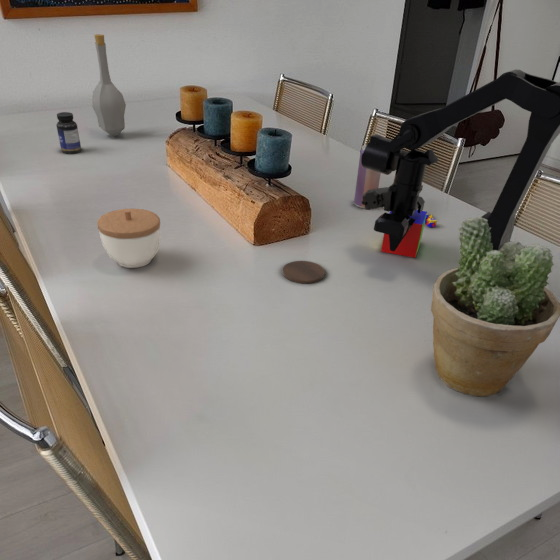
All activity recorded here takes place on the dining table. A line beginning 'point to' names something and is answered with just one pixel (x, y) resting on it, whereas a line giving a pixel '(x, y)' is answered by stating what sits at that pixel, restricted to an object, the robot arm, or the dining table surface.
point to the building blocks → (430, 221)
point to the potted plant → (490, 311)
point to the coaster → (303, 272)
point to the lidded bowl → (130, 236)
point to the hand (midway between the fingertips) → (392, 250)
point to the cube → (408, 237)
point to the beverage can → (365, 181)
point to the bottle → (107, 95)
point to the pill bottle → (68, 133)
